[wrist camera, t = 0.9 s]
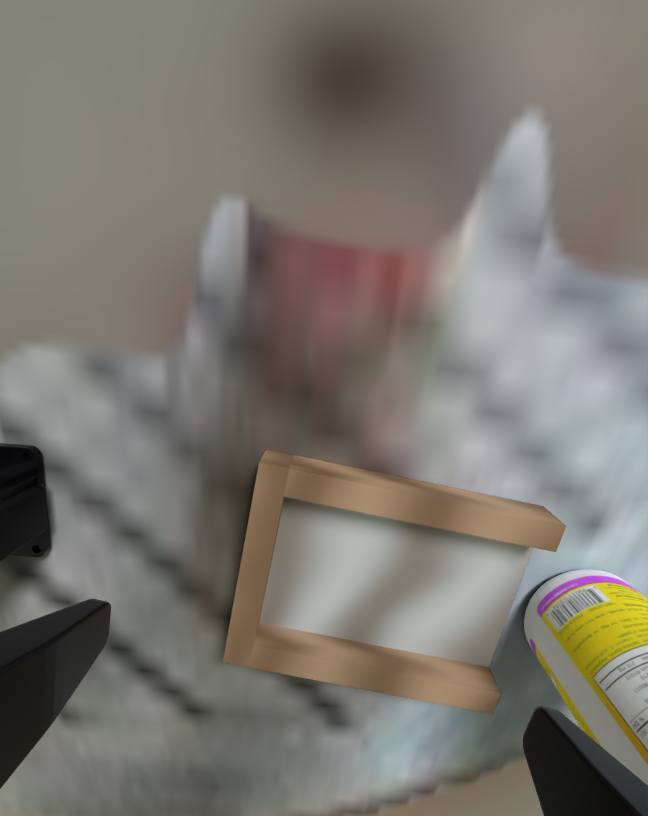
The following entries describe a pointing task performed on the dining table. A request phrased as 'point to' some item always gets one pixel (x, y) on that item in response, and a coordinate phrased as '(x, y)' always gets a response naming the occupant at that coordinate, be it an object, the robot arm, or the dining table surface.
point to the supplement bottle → (597, 657)
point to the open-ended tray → (380, 580)
